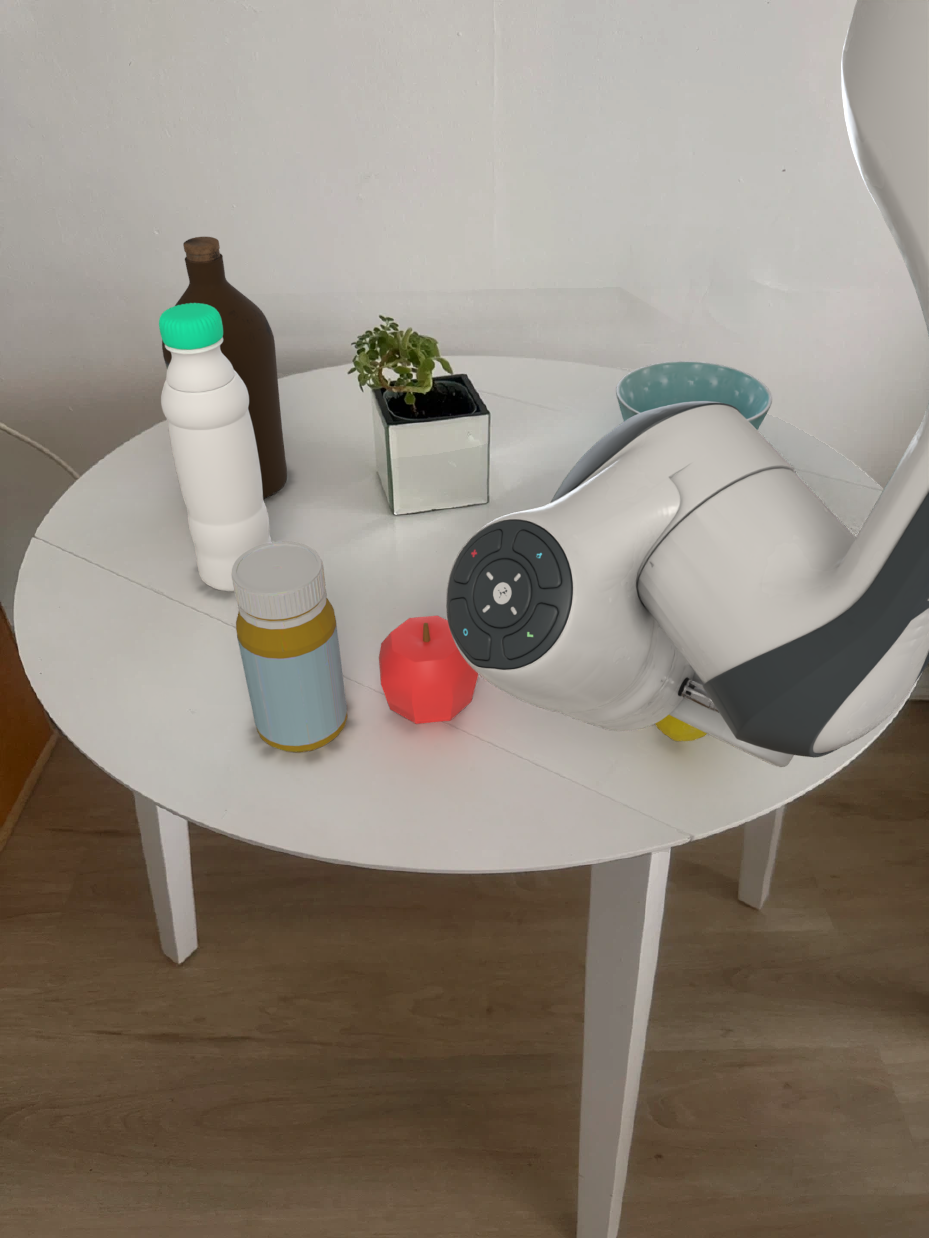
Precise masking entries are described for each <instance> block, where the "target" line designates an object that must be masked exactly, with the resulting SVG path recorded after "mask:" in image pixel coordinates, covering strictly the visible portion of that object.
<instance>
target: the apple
mask: <svg viewBox="0 0 929 1238" xmlns="http://www.w3.org/2000/svg"><path fill="white" fill-rule="evenodd" d="M378 665H379V677H380V678H379V679H380V685H381V689H382V691H383V694H384V697H385V700H386V702H387V705H388V708H389V710H390V711H392V712H393V713H396V714H398V715H400V716H401V717H403V718H405V719H407V720H408V721H410V722H412V723H413V724H416V725H418V724H429V723H430V724H431V723H441V722H449V721H452V720H453V719H454V718H455V717H457V715H458V714H460V713H461V712H462V711H463V710H464V709H465V708H466V707H467V706H468V705H470V704H471V703H472V701H473V697H474V694H475V689H476V686H477V682H478V679H479V674H478V673H477V672H476V671H475V670H474V669H472V668H471V667H470V665H469V664H468V663H467V662H466V661H465V659H464V658H463V657H462V655H461V654H460V652H459V650H458V648H457V646H456V644H455V642H454V640H453V637H452V634H451V631H450V629H449V625H448V619H446V618H444V617H442V616H439V615H427V616H426V615H425V616H415V617H408V618H407V619H406V620H405V621H404V622H402V623H401V624H400V625H398V626H397V627H396V628H394V629H393V630H392V631H390V633H389V634H388V635H387V636H386V637H385V638H384V639H383V641H382V642H381V643H380V648H379V654H378Z"/></svg>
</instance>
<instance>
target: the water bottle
mask: <svg viewBox="0 0 929 1238" xmlns="http://www.w3.org/2000/svg"><path fill="white" fill-rule="evenodd" d="M158 328H159V335H160V338H161V341H162V340H163V342H164V344H165V348H166V349H167V350H169V351H170V352H171V354H172V359H171V362H170V364H169V366H168V369H167V368H166V374H165V375H166V376H165V377H166V378H165V381H164V383H163V387H162V391H161V394H160V405H161V410H162V413H163V415H164V417H165V418H166V420H167V428H168V429H167V430H168V436H169V443H170V447H171V454H172V458H173V463H174V468H175V471H176V475H177V476H176V477H177V479H178V484H179V488H180V492H181V496H182V498H183V499H182V500H184V504H185V507H186V510H187V525H188V529H189V534H190V537H191V540H192V542H193V545H194V553H195V555H194V556H195V562H196V566H197V571H198V574H199V578H200V579H201V580H202V582H203V583H204V584H206V585H207V586H209V587H210V588H213V589H215V590H219V591H223V592H234V587H233V582H232V577H231V576H232V575H231V573H232V567H233V565H234V563H235V561H236V560H237V559H238V558H239V557H240V556H241V555H242V554H243V553H245V552H246V551H248V550H250V549H252V548H254V547H256V546H259V545H262V544H266V543H271V542H273V541H272V538H271V535H270V519H269V513H268V509H267V506H266V503H265V501H264V499H263V490H262V479H261V471H260V464H259V457H258V451H257V445H256V440H255V435H254V430H253V425H252V421H251V417H250V414H249V410H248V406H249V395H248V391H247V388H246V386H245V384H244V382H243V381H242V379H241V378H240V376H239V375H238V374H237V372H236V371H235V370H234V369H233V366H232V364H231V363H230V361H229V360H228V359H227V358H226V357H225V356H224V355H223V354H222V352H221V350H220V345H221V344H222V342H223V337H222V336H223V325H222V320H221V316H220V314H219V312H218V311H217V310H216V309H215V308H214V307H212V306H210V305H207V304H200V303H189V304H187V303H186V304H181V305H177V306H175V305H174V306H171V307H169V308H167V309H166V310H164V311H163V312H162V313H161V314H160V316H159V319H158Z"/></svg>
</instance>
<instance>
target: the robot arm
mask: <svg viewBox="0 0 929 1238" xmlns="http://www.w3.org/2000/svg"><path fill="white" fill-rule="evenodd" d="M840 67H841V70H840V71H841V96H842V97H841V98H842V105H843V106H842V107H843V114H844V121H845V125H846V130H847V135H848V138H849V139H848V140H849V143H850V148H851V150H852V154H853V156H854V159H855V162H856V165H857V167H858V171H859V173H860V175H861V178H862V180H863V183H864V185H865V187H866V190H867V191H868V193H869V194H870V197H871V198H872V200H873V202H874V204H875V205H876V208H877V209H878V211H879V213H880V215H881V217H882V219H883V221H884V223H885V224H886V226H887V228H888V230H889V233H890V234H891V236H892V238H893V240H894V243H895V244H896V247H897V249H898V251H899V254H900V256H901V258H902V260H903V263H904V264H905V268H906V269H907V272H908V275H909V278H910V280H911V282H912V285H913V288H914V290H915V292H916V297H917V300H918V302H919V306H920V309H921V312H922V315H923V321H924V322H925V326H926V332H927V336H928V338H929V0H856V2H855V6H854V9H853V12H852V14H851V18H850V21H849V24H848V28H847V32H846V35H845V39H844V42H843V48H842V53H841V65H840ZM445 608H446V609H445V611H446V618H447V619H446V620H448V625H449V629H450V631H451V634H452V637H453V640H454V642H455V644H456V646H457V648H458V650H459V652H460V654H461V655H462V657H463V658H464V659H465V661H466V662H467V663H468V664H469V665H470V667H471V668H472V669H474V670H475V671H476V672H477V673H478V676H480V677H481V678H483V679H484V680H485V681H487V682H488V683H489V684H491V685H492V686H494V687H495V688H497V689H498V690H500V691H501V692H504V694H506V695H509V696H511V697H513V698H515V699H517V700H518V701H522V702H523V703H526V704H528V705H531V706H534V707H536V708H540V709H543V710H547V711H550V712H556V713H561V714H562V715H563V716H565V717H568V718H571V719H573V720H576V721H578V722H581V723H586V724H588V725H591V726H593V727H594V726H595V727H597V728H600V729H603V730H608V731H612V732H634V731H638V730H642V729H646V728H648V727H650V726H654V725H655V723H657V722H659V721H660V720H662V719H663V718H665V717H666V716H667V715H671V716H673V717H675V718H677V719H679V720H681V721H683V722H685V723H687V724H689V725H691V726H693V727H695V728H697V729H699V730H701V731H703V732H705V733H707V735H709V736H711V737H713V738H715V739H717V740H719V741H721V742H723V743H725V744H727V745H730V746H731V747H734V748H735V749H737V750H739V751H741V752H744V753H746V754H748V755H750V756H752V757H754V758H756V759H758V760H761V761H762V762H765V763H767V764H769V765H771V766H774V767H778V768H785V767H787V766H788V765H789V764H790V763H791V762H792V760H793V758H794V756H799V757H805V758H806V757H807V758H821V757H824V756H827V755H830V754H832V753H834V752H835V751H838V750H839V749H841V748H843V747H846V746H848V745H850V744H852V743H854V742H856V741H858V740H859V739H860V738H862V737H864V736H866V735H867V734H869V733H870V732H871V731H873V730H874V729H876V728H877V727H878V726H880V725H881V724H882V723H883V722H884V721H886V720H887V719H888V718H889V717H890V716H891V715H892V714H893V713H894V712H895V711H896V709H898V707H899V706H900V705H901V704H902V702H903V701H904V700H905V699H906V697H907V696H908V695H909V693H910V691H911V690H912V688H913V686H914V685H915V684H916V682H917V681H918V679H919V678H920V677H921V675H922V674H923V672H924V671H925V669H926V668H927V666H928V664H929V401H928V402H927V406H926V409H925V412H924V415H923V417H922V420H921V422H920V424H919V426H918V428H917V430H916V432H915V433H914V435H913V437H912V439H911V441H910V442H909V444H908V446H907V448H906V450H905V451H904V453H903V455H902V457H901V458H900V460H899V461H898V463H897V465H896V467H895V469H894V470H893V472H892V474H891V476H890V477H889V479H888V481H887V483H886V484H885V486H884V488H883V490H882V491H881V493H880V495H879V496H878V498H877V500H876V502H875V504H874V505H873V507H872V508H871V511H870V512H869V514H868V516H867V517H866V520H865V521H864V523H863V524H862V526H861V528H860V530H859V531H858V533H857V535H856V536H855V535H854V534H853V533H852V532H851V531H850V530H849V529H848V528H847V526H845V523H843V522H842V521H841V520H840V519H839V518H838V517H837V516H836V514H834V513H833V511H832V510H831V509H830V508H829V507H828V506H827V505H826V504H825V503H824V501H822V499H820V497H819V496H817V494H816V493H815V492H814V491H813V490H812V488H810V487H809V485H807V484H806V482H805V481H804V480H803V479H802V478H801V477H800V476H799V475H798V474H797V471H796V470H795V468H794V467H793V466H792V465H791V464H790V463H789V462H788V461H787V460H786V459H785V458H784V457H783V456H782V454H781V453H780V452H779V451H778V450H777V449H776V447H774V446H773V444H771V443H770V442H769V440H767V438H766V437H765V436H764V435H763V434H762V433H761V432H760V431H759V429H758V430H757V429H756V428H755V427H754V426H753V425H752V424H751V423H750V422H749V421H748V420H747V419H746V418H745V417H744V416H743V415H742V414H741V413H740V411H739V410H738V409H737V408H736V407H734V406H732V405H729V404H725V403H720V402H712V401H692V402H683V403H677V404H672V405H667V406H663V407H659V408H655V409H651V410H648V411H645V412H642V413H639V414H637V415H635V416H633V417H631V418H629V419H627V420H626V421H623V422H621V423H620V424H618V425H617V426H616V427H614V428H613V429H611V430H610V431H609V432H607V433H606V434H605V435H603V436H602V437H601V438H600V439H598V441H596V443H595V444H593V445H592V446H591V447H590V448H589V449H588V450H587V451H586V452H585V453H584V454H583V455H582V456H581V458H580V459H579V460H578V461H577V462H576V463H575V464H574V466H573V467H572V468H571V469H570V471H569V472H568V473H567V474H566V476H565V477H564V479H563V480H562V482H561V483H560V485H559V487H558V489H557V490H556V492H555V493H554V495H553V497H552V498H551V501H550V502H549V503H546V504H544V505H541V506H537V507H533V508H529V509H525V510H519V511H514V512H511V513H507V514H504V515H502V516H499V517H496V518H494V519H493V520H491V521H489V522H488V523H486V524H484V525H483V526H482V527H480V528H479V529H478V530H477V531H476V532H475V533H473V535H471V537H470V538H469V539H467V541H466V542H465V543H464V544H463V545H462V547H461V548H460V550H459V552H458V554H457V555H456V557H455V559H454V561H453V563H452V567H451V568H450V572H449V575H448V580H447V586H446V598H445Z"/></svg>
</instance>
